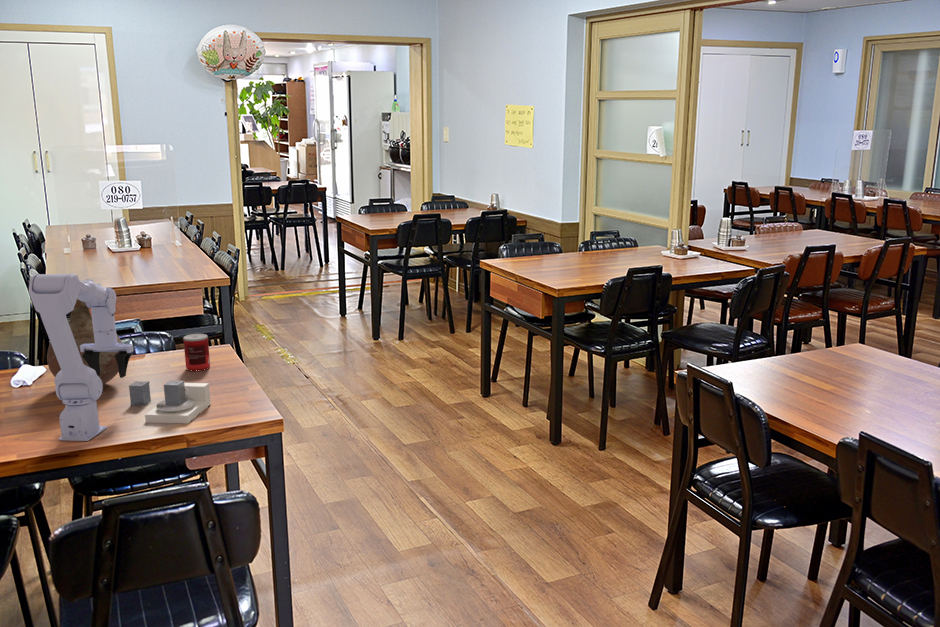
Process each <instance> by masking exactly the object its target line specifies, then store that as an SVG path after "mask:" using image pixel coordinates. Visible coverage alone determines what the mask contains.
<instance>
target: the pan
mask: <svg viewBox="0 0 940 627" xmlns="http://www.w3.org/2000/svg"><path fill="white" fill-rule="evenodd" d="M194 405H195V401H194V400H193V399H190V398H186V402H184V403H183V404H182V405H180V406H166V404H165V399H164V400H162V401H160V402H158V403H157V404H156V406H155V407H157V410H159V411H163V412H175V411H182V410H186V409H189V408H191V407H193V406H194Z"/></svg>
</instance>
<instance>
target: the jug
mask: <svg viewBox="0 0 940 627" xmlns="http://www.w3.org/2000/svg"><path fill="white" fill-rule="evenodd" d="M68 323H69V326H70V328H71V331H72V334H73V337H74V339H75V342H76V345H77V348H78V350H79V353H80V356H81V359H82V361H83V364H84V365H86V366H88V367H89V365H88V363H87V362H86V361H85V359H84V358H83V357H82V355H83V354H84V353H85V352H81V351H80V345H82V344H91V343H95V341H94V332H93V324H92V315H91V311H90V308H88V307H87V305H86V303H85V302H83V301H80V300H78V299H77V300H76V303H75V306H74V309H73V311H71V312H70V318H69V321H68ZM116 335H117V343H122V344H123V342H122V340H121V338H120V336H119V335H118V334H117V333H116ZM118 353H119V352H100V356H99V365H100V375H99V378H100V379H101V381H102V384H103V389H104V388H106V386H107V383H109V382H110V381H111V380H112V379H114V378H115V377H116V376H117V375H118V374H119V369H118V364H117V361H116V358H115V355H116V354H118ZM46 362H47V365H48V370H49V371H50V373H51V374H52V376H53V377H54V378H55V377H56V375H57V374H58V372H59V371H60V370H61V368H60V365H59V363H58V360H57V357H56V355H55V352H54V350H53V347H52V345H51V342H50V343H49V345H48V348H47V354H46Z"/></svg>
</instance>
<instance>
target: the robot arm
mask: <svg viewBox="0 0 940 627" xmlns="http://www.w3.org/2000/svg"><path fill="white" fill-rule="evenodd" d="M28 295H29V297H30V299H31V303H32V305H33V307H34V310H35V311H36V313H38V314H39V315H40V318H41V321H42V323H43V326H44V329H45V331H46V334H47V336H48V339H49V341H50V342H51V345H52V347H53V350H54V352H55V355H56V357H57V360H58V363H59V365H60V368H61V370H60V371H59V372H58V374H57V375H56V377H54V381H53V382H54V386H55V394H56V396H57V398H58V399H59V400H60V401H62V404H63V405H65V407H64V409H63V410H62V411H61V412H60V414H59V427H60V435H61V436H60V437H58V440H59V441H66V442H67V441H68V442H69V441H71V442H72V441H73V442H74V441H78V442H88V441H90V440H91V439H93V438H94V437H96V436H98V435H99V434H101V432H103V431H105V430H106V429H107V428H108V426H106V425H100V420H99V418H100V417H99V411H98V403H97V402H98V401H97V400H99V398H100V397H101V395H102V394H103V389H104V388H103V384H102V381H101V379H100V378H99V375H100V365H99V356H100V352H119V353H118V354H116V355H115V358H116V361H117V364H118V369H119V372H118V376H119V378H120V379H123V378H124V377H126V376H127V369H128V366H129V361H130V359H131V357H132V354H133V352H134V344H128V343H123V342H122V343H117V335H118V334H117V328H116V320H115V313H116V310H117V308H116V302H117V294H116V291H115V290H114V289H113V288H111V287H108V286H107V287H106V286H102V285H101V284H100V283H95V282H94V279H92V278H91V279H90V278H88V279H85V280H80V278H79V276H78V274H75V273H72V272H70V273H55V274H54V273H50V274H49V273H47V274H46V273H45V274H44V273H41V274H40V273H35V274H32V276H31V278H30V280H29V285H28ZM77 299H78V300H80V301H83V302H85V303H86V305H87V307H88V308H89V309H90V315H91V317H92V324H93V332H94V341H95V343H91V344H82V345H80V351H81V352H85V353H84V354H83V355H82V357H83V358H84V359H85V361H86V362H87V363H88V365H89V367H88V366H86V365H84V364H83V361H82V359H81V356H80V353H79V350H78V348H77V345H76V342H75V339H74V337H73V334H72V331H71V328H70V326H69V323H68V322H69V321H68V318H67V315H68V314H69V313H71V311H73V309H74V306H75V303H76V300H77ZM116 334H117V335H116Z"/></svg>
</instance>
